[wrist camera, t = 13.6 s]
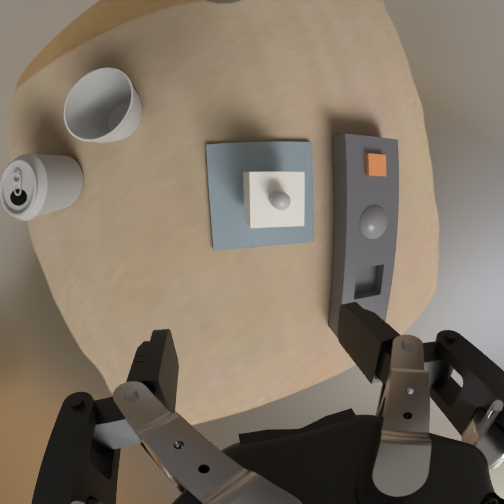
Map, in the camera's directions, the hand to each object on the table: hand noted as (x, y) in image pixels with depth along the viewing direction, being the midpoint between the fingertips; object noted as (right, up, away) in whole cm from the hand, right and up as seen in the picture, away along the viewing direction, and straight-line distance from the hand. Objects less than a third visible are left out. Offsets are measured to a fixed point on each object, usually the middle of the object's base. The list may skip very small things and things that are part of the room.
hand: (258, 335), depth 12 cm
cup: (-17, +21, +18) cm, 33 cm away
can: (-27, +14, +19) cm, 36 cm away
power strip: (+16, +6, +28) cm, 33 cm away
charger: (+1, +11, +23) cm, 26 cm away
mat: (+1, +11, +24) cm, 27 cm away
